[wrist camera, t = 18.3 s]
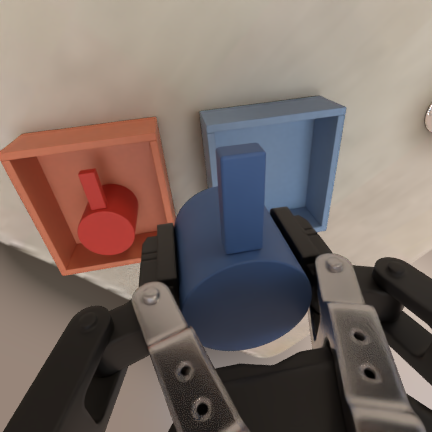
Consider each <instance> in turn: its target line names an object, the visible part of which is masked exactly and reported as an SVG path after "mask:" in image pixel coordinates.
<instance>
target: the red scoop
mask: <svg viewBox="0 0 432 432" xmlns="http://www.w3.org/2000/svg"><path fill="white" fill-rule="evenodd" d="M78 176H79V179H80V181H81V184H82V187H83V189H84V192H85V194H86V197H87V199H88V203H87V206H86V208H85V211H84V213H83V215H82V218H81V220H80V223H79V225H78V229H77V234H78V237H79V240H80V242H81V243H82V244H83V245H84V246H85V247H86V248H87V249H89V250H90V251H92V252H94V253H97V254H101V255H116V254H119V253H122V252H124V251H126V250H127V249H128V248H129V247H130V246H131V245H132V244H133V242H134V239H135V232H136V223H137V215H138V200H137V198H136V196H135V195H134V193H133V192H132V191H131V190H129V189H128V188H126V187H124V186H122V185H118V184H106V185H101V182H100V179H99V176H98V174H97V171H96V169H88V170H81V171H80V172H79V174H78Z"/></svg>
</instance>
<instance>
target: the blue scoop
mask: <svg viewBox="0 0 432 432" xmlns="http://www.w3.org/2000/svg"><path fill="white" fill-rule="evenodd" d="M216 165H217V180H218V186H216V187H211V188H208V189H205V190H203V191H201V192H199V193H197V194H196V195H194V196H193V197H192V198H190V199H189V200H188V201H187V202H186V203H185V204H184V205H183V207H182V208H181V209H180V211H179V213H178V215H177V217H176V220H175V224H174V230H175V243H176V257H177V270H178V283H179V306H180V311H181V313H182V315H183V317H184V319H185V321H186V323H187V324H188V326H190V325H191V326H192V327H193V329H194V330H195V332H196V334H197V336H198V338H199V340H200V342H201V344H202V345H203V346H204V347H207V348H211V349H215V350H222V351H238V350H246V349H251V348H255V347H259V346H262V345H265V344H267V343H270V342H272V341H274V340H276V339H278V338H280V337H281V336H283V335H285V334H286V333H287V332H289V331H290V330H291V329H293V328H294V327H295V326H296V325H297V324H298V323H299V322H300V321H301V320H302V318H303V317H304V316H305V314H306V312H307V311H308V309H309V306H310V303H311V300H312V288H311V284H310V281H309V280H308V278H307V276H306V274H305V273H304V271H303V269H302V268H301V266H300V264H299V262H298V261H297V259H296V257H295V256H294V254H293V252H292V251H291V249H290V247H289V246H288V244H287V242H286V240H285V239H284V237H283V235H282V234H281V232H280V230H279V229H278V227H277V225H276V224H275V222H274V220H273V219H272V217H271V215H270V213H269V212H268V210H267V208H266V207H265V205H264V201H265V174H266V152H265V150H264V149H263V148H262V147H261V146H260V145H259V143H248V144H240V145H232V146H223V147H218V148H216Z"/></svg>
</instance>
